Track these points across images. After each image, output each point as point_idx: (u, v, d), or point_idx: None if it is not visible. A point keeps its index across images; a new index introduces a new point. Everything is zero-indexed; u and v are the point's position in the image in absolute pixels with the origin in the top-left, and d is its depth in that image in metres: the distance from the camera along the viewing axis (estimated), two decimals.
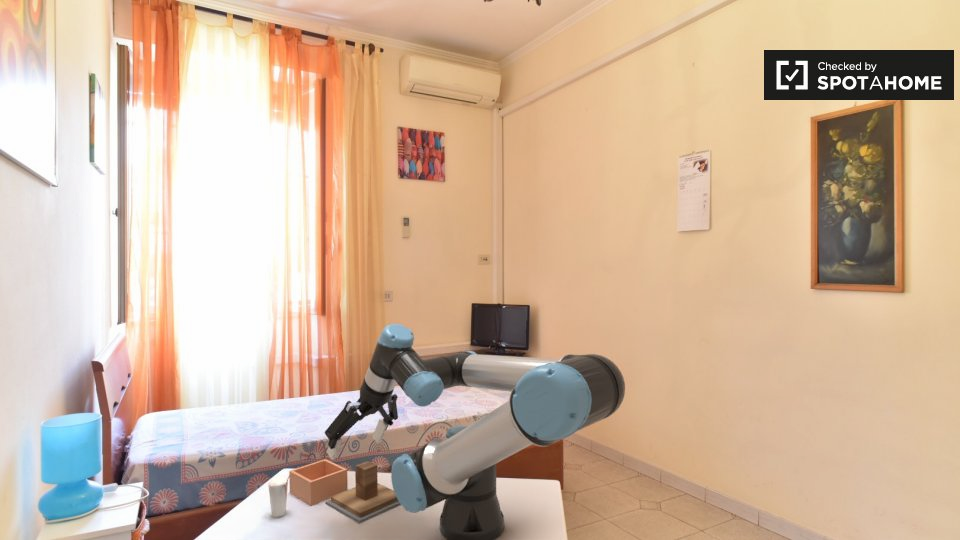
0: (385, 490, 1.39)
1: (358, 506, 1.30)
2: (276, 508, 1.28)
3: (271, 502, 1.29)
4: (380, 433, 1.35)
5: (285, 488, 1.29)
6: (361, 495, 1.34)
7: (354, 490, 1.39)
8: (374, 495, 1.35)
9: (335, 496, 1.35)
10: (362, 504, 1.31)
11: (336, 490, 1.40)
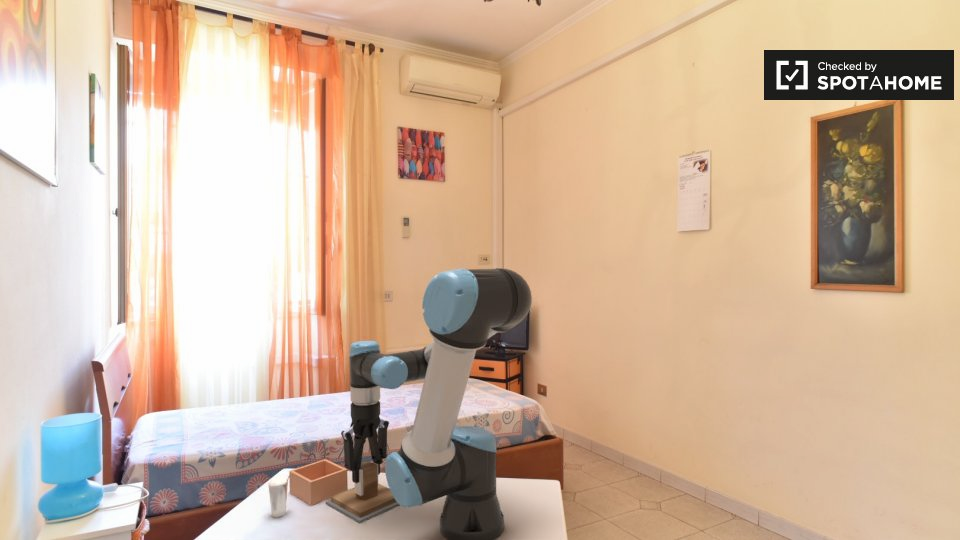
0: (385, 490, 1.39)
1: (358, 506, 1.30)
2: (276, 508, 1.28)
3: (271, 502, 1.29)
4: None
5: (285, 488, 1.29)
6: None
7: (354, 490, 1.39)
8: (374, 495, 1.35)
9: (335, 496, 1.35)
10: (362, 504, 1.31)
11: (336, 490, 1.40)
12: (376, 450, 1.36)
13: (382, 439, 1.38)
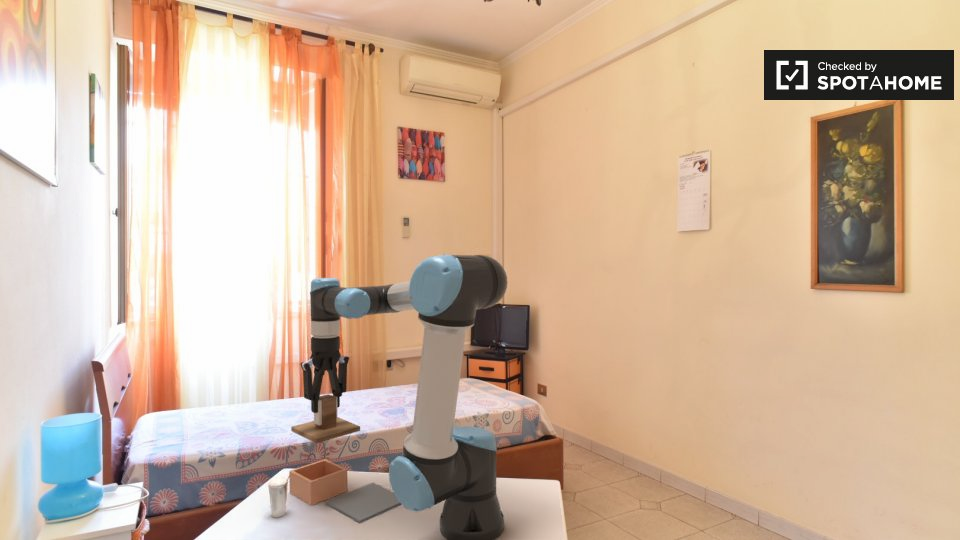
0: (344, 423, 1.44)
1: (316, 434, 1.35)
2: (276, 508, 1.28)
3: (271, 502, 1.29)
4: None
5: (285, 488, 1.29)
6: (320, 425, 1.39)
7: None
8: (333, 426, 1.40)
9: (295, 426, 1.41)
10: (320, 432, 1.36)
11: (336, 490, 1.40)
12: (335, 383, 1.42)
13: (342, 373, 1.43)
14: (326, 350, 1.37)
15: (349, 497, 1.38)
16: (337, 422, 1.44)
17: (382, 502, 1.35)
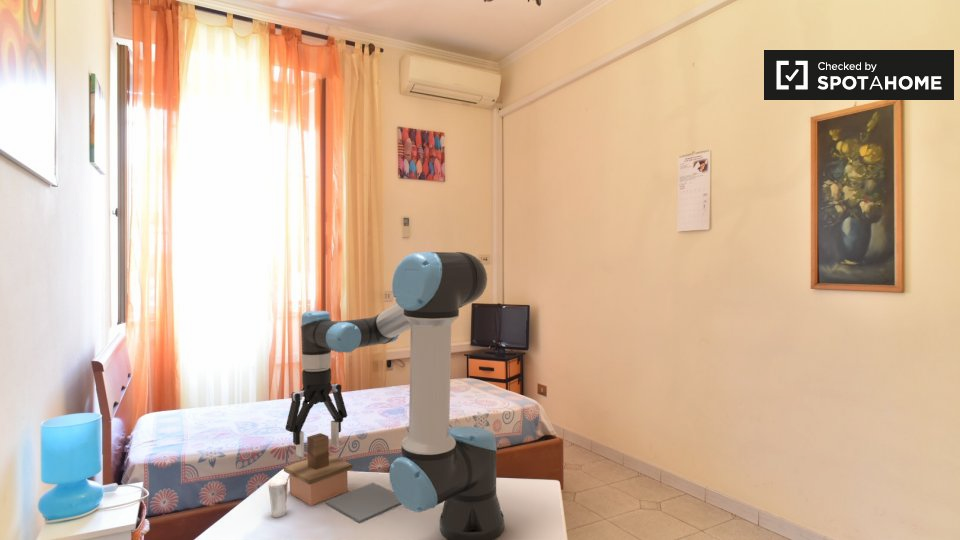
0: (336, 461, 1.45)
1: (308, 475, 1.36)
2: (276, 508, 1.28)
3: (271, 502, 1.29)
4: (335, 433, 1.45)
5: (285, 488, 1.29)
6: (312, 465, 1.40)
7: (307, 461, 1.45)
8: (325, 465, 1.41)
9: (288, 466, 1.42)
10: (312, 473, 1.37)
11: (336, 490, 1.40)
12: (334, 411, 1.44)
13: (338, 401, 1.46)
14: (317, 383, 1.38)
15: (349, 497, 1.38)
16: (329, 460, 1.45)
17: (382, 502, 1.35)
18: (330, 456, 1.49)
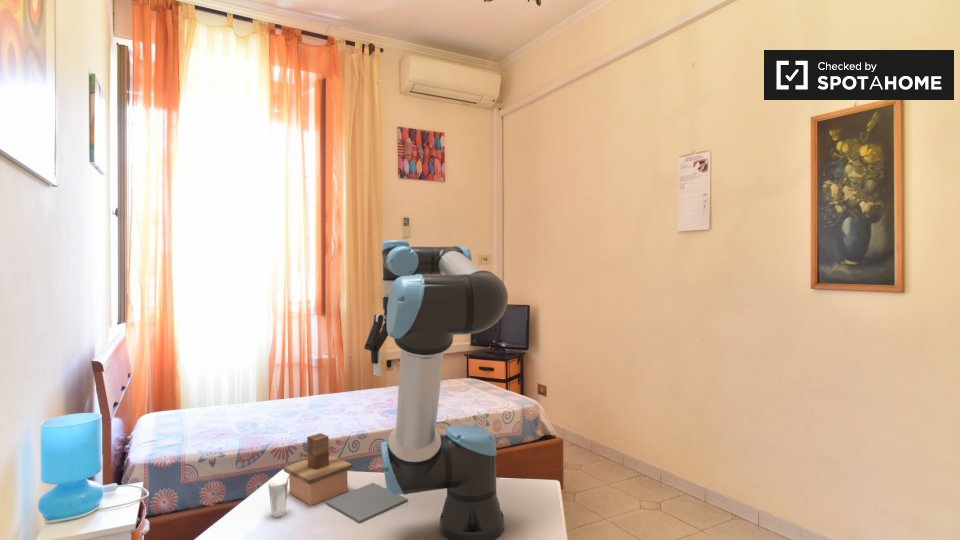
0: (336, 461, 1.45)
1: (308, 475, 1.36)
2: (276, 508, 1.28)
3: (271, 502, 1.29)
4: None
5: (285, 488, 1.29)
6: (312, 465, 1.40)
7: (307, 461, 1.45)
8: (325, 465, 1.41)
9: (288, 466, 1.42)
10: (312, 473, 1.37)
11: (336, 490, 1.40)
12: None
13: None
14: None
15: (349, 497, 1.38)
16: (329, 460, 1.45)
17: (382, 502, 1.35)
18: (330, 456, 1.49)
